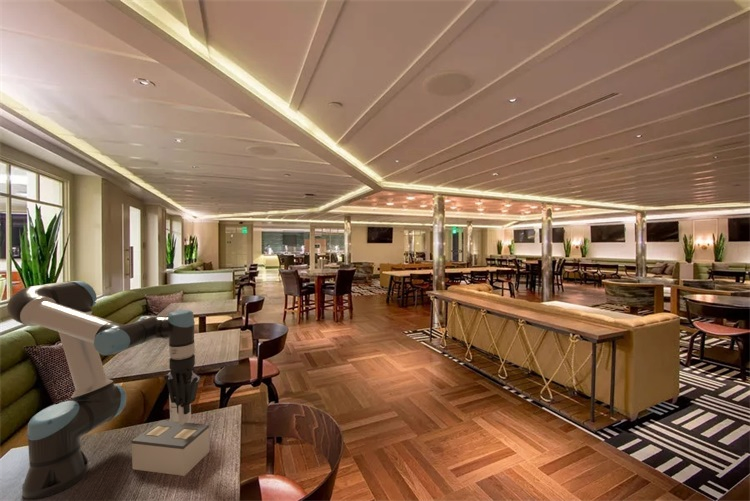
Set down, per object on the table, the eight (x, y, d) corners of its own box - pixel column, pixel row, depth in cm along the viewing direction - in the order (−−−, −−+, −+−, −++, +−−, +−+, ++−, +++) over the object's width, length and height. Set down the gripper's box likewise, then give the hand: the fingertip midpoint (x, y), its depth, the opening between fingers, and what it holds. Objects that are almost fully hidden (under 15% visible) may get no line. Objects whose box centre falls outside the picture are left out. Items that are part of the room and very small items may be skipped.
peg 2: (174, 460, 107) (173, 437, 107) (185, 450, 112) (184, 428, 112) (186, 461, 106) (186, 438, 106) (197, 452, 111) (196, 430, 111)
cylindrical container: (181, 439, 121) (179, 376, 120) (166, 437, 123) (163, 375, 122) (195, 428, 128) (193, 369, 127) (181, 427, 130) (178, 367, 129)
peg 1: (146, 457, 109) (145, 434, 109) (158, 447, 114) (158, 426, 113) (159, 458, 108) (158, 436, 108) (170, 448, 113) (169, 427, 113)
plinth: (132, 469, 106) (131, 440, 105) (162, 446, 118) (161, 420, 117) (184, 476, 102) (183, 446, 102) (209, 451, 114) (208, 424, 114)
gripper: (156, 358, 105) (158, 426, 106) (190, 361, 103) (192, 430, 104) (174, 350, 113) (175, 414, 113) (206, 353, 110) (207, 418, 111)
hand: (183, 422), depth 109 cm, fingers closed
